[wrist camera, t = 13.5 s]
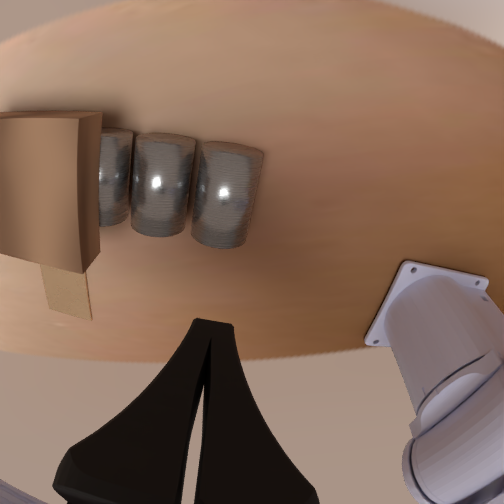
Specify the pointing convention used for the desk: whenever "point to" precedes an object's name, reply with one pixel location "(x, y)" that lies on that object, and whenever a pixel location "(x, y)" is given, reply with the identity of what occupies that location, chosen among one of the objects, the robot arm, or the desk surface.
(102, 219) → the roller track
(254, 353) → the desk surface
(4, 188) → the slab
